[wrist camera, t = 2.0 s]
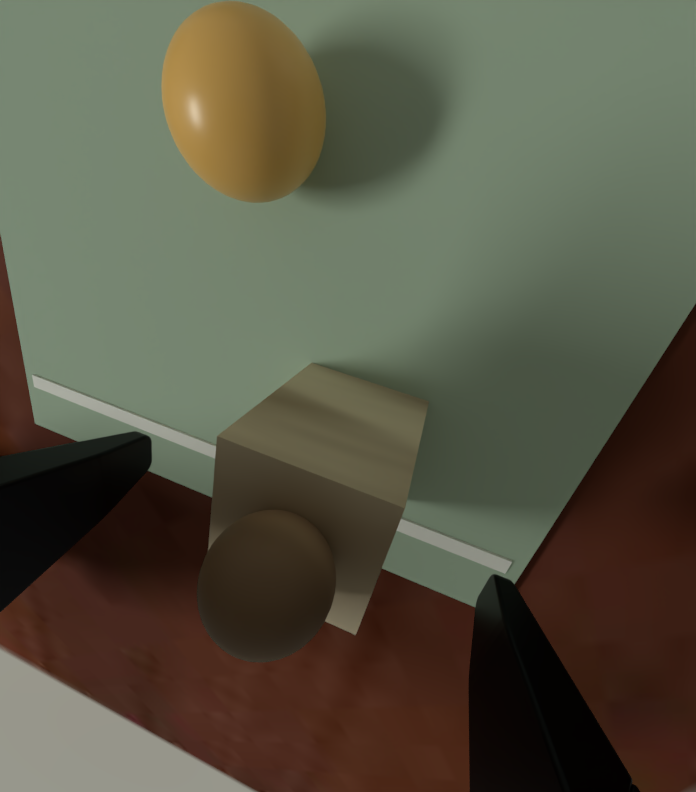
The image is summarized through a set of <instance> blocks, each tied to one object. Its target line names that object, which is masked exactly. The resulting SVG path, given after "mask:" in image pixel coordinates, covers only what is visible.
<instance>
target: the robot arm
mask: <svg viewBox="0 0 696 792" xmlns="http://www.w3.org/2000/svg"><path fill="white" fill-rule="evenodd" d="M151 463H152V440H151V438H150V437H149V436H148V435H146V434H143V433H140V432H137V431H132V432H127V433H122V434H117V435H111V436H106V437H101V438H96V439H90V440H85V441H80V442H74V443H69V444H64V445H59V446H53V447H48V448H43V449H38V450H32V451H27V452H22V453H17V454H11V455H6V456H1V457H0V612H1V611H2V610H3V609H4V608H5V607H7V606H8V605H9V604H10V603H11V602H12V601H13V600H14V599H15V598H16V597H17V596H19V595H20V594H21V593H22V592H23V591H24V590H25V589H26V588H27V587H28V586H30V585H31V584H32V583H33V582H34V581H35V580H36V579H37V578H38V577H39V576H41V575H42V574H43V573H44V572H45V571H46V570H47V569H48V568H49V567H50V566H51V565H53V564H54V563H55V562H56V561H57V560H58V559H59V558H60V557H61V556H62V555H64V554H65V553H66V552H67V551H68V550H69V549H70V548H71V547H72V546H73V545H75V544H76V543H77V542H78V541H79V540H80V539H81V538H82V537H83V536H84V535H85V534H87V533H88V532H89V531H90V530H91V529H92V528H93V527H94V526H95V525H96V524H98V523H99V522H100V521H101V520H102V519H103V518H104V517H105V516H106V515H107V514H108V513H109V512H110V511H111V510H112V509H113V508H114V507H115V506H116V504H117V503H118V502H119V501H120V500H121V499H122V498H123V497H124V496H125V495H126V494H127V492H128V491H129V490H130V489H131V488H132V487H133V486H134V485H135V484H136V483H137V482H138V480H139V479H140V478H141V477H142V476H143V475H144V474H145V473H146V472H147V470H148V469H149V468H150V466H151ZM469 762H470V792H640V791H639V789H638V788H637V786H636V785H634V784H632V778H631V776H630V775H629V773H628V771H627V770H626V768H625V766H624V765H623V763H622V761H621V760H620V758H619V756H618V755H617V753H616V751H615V750H614V748H613V747H612V745H611V743H610V742H609V740H608V738H607V737H606V735H605V733H604V732H603V730H602V728H601V727H600V725H599V723H598V722H597V720H596V718H595V717H594V715H593V713H592V712H591V710H590V709H589V707H588V705H587V704H586V702H585V700H584V699H583V697H582V695H581V694H580V692H579V690H578V689H577V687H576V685H575V684H574V682H573V680H572V679H571V677H570V675H569V674H568V672H567V670H566V669H565V667H564V666H563V664H562V662H561V661H560V659H559V657H558V656H557V654H556V652H555V651H554V649H553V647H552V646H551V644H550V642H549V641H548V639H547V637H546V636H545V634H544V632H543V631H542V629H541V627H540V626H539V624H538V623H537V621H536V619H535V618H534V616H533V614H532V613H531V611H530V609H529V608H528V606H527V604H526V603H525V601H524V599H523V598H522V596H521V594H520V593H519V591H518V589H517V588H516V586H515V585H514V583H513V582H512V581H511V580H509V579H507V578H505V577H502V576H500V575H497V574H492V575H491V576H490V577H489V579H488V581H487V582H486V584H485V586H484V587H483V589H482V591H481V592H480V594H479V596H478V598H477V602H476V607H475V617H474V627H473V638H472V648H471V659H470V670H469Z"/></svg>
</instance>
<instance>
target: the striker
mask: <svg viewBox="0 0 696 792" xmlns="http://www.w3.org/2000/svg"><path fill="white" fill-rule="evenodd" d="M428 404H429V401H426V400H423V399H420V398H417V397H414V396H411V395H408V394H405V393H402V392H399V391H396V390H393V389H390V388H387V387H384V386H381V385H378V384H375V383H372V382H369V381H366V380H363V379H360V378H357V377H353V376H350V375H347V374H344V373H341V372H338V371H335V370H332V369H329V368H326V367H323V366H320V365H317V364H314V363H311V364H309V365H308V366H307V367H305V368H304V369H303V370H301V371H300V372H299V373H298V374H296V375H295V376H294V377H292V378H291V379H290V380H289V381H287V382H286V383H285V384H283V385H282V386H281V387H280V388H278V389H277V390H276V391H274V392H273V393H272V394H271V395H269V396H268V397H267V398H265V399H264V400H263V401H261V402H260V403H259V404H258V405H256V406H255V407H254V408H252V409H251V410H250V411H249V412H247V413H246V414H245V415H243V416H242V417H241V418H240V419H238V420H237V421H236V422H234V423H233V424H232V425H231V426H229V427H228V428H227V429H225V430H224V431H223V432H221V433H220V434H219V435H218V436H217V441H216V454H215V467H214V480H213V493H212V506H211V519H210V532H209V545H208V552H207V554H206V556H205V558H204V561H203V564H202V566H201V569H200V573H199V578H198V584H197V602H198V609H199V613H200V617H201V620H202V623H203V625H204V627H205V629H206V631H207V632H208V634H209V636H210V637H211V638H212V640H213V641H214V642H215V643H216V644H217V645H218V646H219V647H220V648H221V649H223V650H224V651H225V652H227V653H228V654H230V655H232V656H234V657H236V658H239V659H242V660H245V661H250V662H269V661H274V660H279V659H281V658H284V657H286V656H289V655H291V654H293V653H294V652H296V651H297V650H299V649H301V648H302V647H303V646H304V645H305V644H307V643H308V642H309V641H310V640H311V639H312V638H313V637H314V636H315V635H316V633H317V632H318V631H319V629H320V628H321V626H322V625H323V623H324V622H325V621H326V622H328V623H330V624H332V625H335V626H337V627H339V628H341V629H343V630H346V631H348V632H350V633H352V634H354V635H356V633H357V630H358V628H359V625H360V623H361V620H362V618H363V615H364V612H365V610H366V607H367V605H368V602H369V600H370V597H371V595H372V592H373V589H374V587H375V584H376V582H377V579H378V577H379V574H380V571H381V569H382V566H383V564H384V561H385V559H386V556H387V553H388V551H389V548H390V546H391V543H392V541H393V538H394V535H395V533H396V530H397V528H398V525H399V523H400V520H401V517H402V515H403V512H404V510H405V506H406V502H407V497H408V493H409V489H410V484H411V480H412V475H413V471H414V466H415V462H416V457H417V453H418V449H419V444H420V440H421V435H422V431H423V426H424V422H425V417H426V413H427V409H428Z"/></svg>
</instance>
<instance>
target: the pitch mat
mask: <svg viewBox="0 0 696 792" xmlns="http://www.w3.org/2000/svg"><path fill="white" fill-rule="evenodd" d="M222 1H240V2H244V3H248V4H252V5H255V6H258V7H260V8H262V9H264V10H266V11H268V12H269V13H271V14H273V15H274V16H275V17H277V18H278V19H280V20H281V21H282V22H283V23H284V24H285V25H286V26H287V27H288V28H289V29H290V30H291V31H292V32H293V33H294V34H295V35H296V36H297V38H298V39H299V40H300V41H301V43H302V44H303V46H304V47H305V49H306V51H307V52H308V54H309V56H310V57H311V59H312V61H313V63H314V66H315V68H316V70H317V73H318V76H319V79H320V82H321V85H322V89H323V94H324V99H325V108H326V130H325V138H324V143H323V147H322V150H321V153H320V157H319V159H318V161H317V163H316V165H315V167H314V169H313V171H312V172H311V174H310V175H309V177H308V178H307V179H306V180H305V182H304V183H303V184H301V185H300V186H299V187H298V188H297V189H296V190H294V191H293V192H292V193H290V194H289V195H287V196H285V197H283V198H280V199H277V200H274V201H271V202H264V203H251V202H244V201H240V200H237V199H234V198H231V197H228V196H226V195H224V194H222V193H220V192H219V191H217V190H215V189H214V188H212V187H211V186H210V185H208V184H207V183H206V182H205V181H204V180H203V179H201V178H200V177H199V176H198V175H197V174H196V173H195V172H194V171H193V169H192V168H191V167H190V166H189V164H188V163H187V162H186V160H185V159H184V157H183V156H182V154H181V153H180V151H179V149H178V148H177V146H176V144H175V142H174V139H173V137H172V135H171V132H170V130H169V127H168V124H167V121H166V117H165V113H164V109H163V102H162V89H161V82H162V69H163V63H164V59H165V55H166V52H167V49H168V46H169V44H170V41H171V39H172V37H173V35H174V34H175V32H176V31H177V29H178V27H179V26H180V25H181V24H182V23H183V21H184V20H185V19H186V18H187V17H189V16H190V15H191V14H192V13H194V12H195V11H197V10H199V9H200V8H202V7H204V6H206V5H209V4H211V3H216V2H222ZM0 233H1V239H2V244H3V250H4V255H5V261H6V266H7V272H8V277H9V283H10V288H11V294H12V299H13V305H14V310H15V316H16V321H17V327H18V332H19V338H20V343H21V349H22V354H23V360H24V365H25V371H26V376H27V382H28V387H29V393H30V398H31V404H32V409H33V415H34V420H35V424H37V425H40V426H42V427H45V428H47V429H49V430H52V431H54V432H56V433H59V434H61V435H64V436H66V437H68V438H71V439H73V440H76V441H78V442H80V441H85V440H90V439H96V438H101V437H106V436H111V435H117V434H122V433H127V432H132V431H137V432H140V433H143V434H146V435H148V436H149V437H150V438H151V440H152V463H151V466H150V468H149V469H148V471H150V472H152V473H155V474H157V475H159V476H162V477H164V478H167V479H169V480H171V481H174V482H176V483H179V484H181V485H183V486H186V487H188V488H191V489H193V490H195V491H198V492H200V493H203V494H205V495H207V496H210V497H212V493H213V480H214V467H215V454H216V441H217V436H218V435H219V434H220V433H221V432H223V431H224V430H225V429H227V428H228V427H229V426H231V425H232V424H233V423H234V422H236V421H237V420H238V419H240V418H241V417H242V416H243V415H245V414H246V413H247V412H249V411H250V410H251V409H252V408H254V407H255V406H256V405H258V404H259V403H260V402H261V401H263V400H264V399H265V398H267V397H268V396H269V395H271V394H272V393H273V392H274V391H276V390H277V389H278V388H280V387H281V386H282V385H283V384H285V383H286V382H287V381H289V380H290V379H291V378H292V377H294V376H295V375H296V374H298V373H299V372H300V371H301V370H303V369H304V368H305V367H307V366H308V365H309V364H311V363H314V364H317V365H320V366H323V367H326V368H329V369H332V370H335V371H338V372H341V373H344V374H347V375H350V376H353V377H357V378H360V379H363V380H366V381H369V382H372V383H375V384H378V385H381V386H384V387H387V388H390V389H393V390H396V391H399V392H402V393H405V394H408V395H411V396H414V397H417V398H420V399H423V400H426V401H429V404H428V409H427V413H426V417H425V422H424V426H423V431H422V435H421V440H420V444H419V449H418V453H417V457H416V462H415V466H414V471H413V475H412V480H411V484H410V489H409V493H408V497H407V502H406V506H405V510H404V512H403V515H402V517H401V520H400V523H399V525H398V528H397V530H396V533H395V535H394V538H393V541H392V543H391V546H390V548H389V551H388V553H387V556H386V559H385V561H384V564H383V566H382V569H385V570H387V571H389V572H392V573H394V574H397V575H399V576H401V577H404V578H406V579H409V580H411V581H413V582H416V583H418V584H421V585H423V586H425V587H428V588H430V589H433V590H435V591H437V592H440V593H442V594H444V595H447V596H449V597H452V598H454V599H456V600H459V601H461V602H464V603H466V604H468V605H471V606H473V607H476V602H477V598H478V596H479V594H480V592H481V591H482V589H483V587H484V586H485V584H486V582H487V581H488V579H489V577H490V576H491V575H492V574H497V575H500V576H502V577H505V578H507V579H509V580H511V581H512V582H513V583H514V584H515V583H516V581H517V580H518V578H519V577H520V575H521V574H522V572H523V570H524V569H525V567H526V566H527V564H528V563H529V561H530V560H531V558H532V556H533V555H534V553H535V552H536V550H537V549H538V547H539V546H540V544H541V542H542V541H543V539H544V538H545V536H546V535H547V533H548V532H549V530H550V529H551V527H552V525H553V524H554V522H555V521H556V519H557V518H558V516H559V515H560V513H561V511H562V510H563V508H564V507H565V505H566V504H567V502H568V501H569V499H570V498H571V496H572V494H573V493H574V491H575V490H576V488H577V487H578V485H579V484H580V482H581V480H582V479H583V477H584V476H585V474H586V473H587V471H588V470H589V468H590V467H591V465H592V463H593V462H594V460H595V459H596V457H597V456H598V454H599V453H600V451H601V449H602V448H603V446H604V445H605V443H606V442H607V440H608V439H609V437H610V436H611V434H612V432H613V431H614V429H615V428H616V426H617V425H618V423H619V422H620V420H621V418H622V417H623V415H624V414H625V412H626V411H627V409H628V408H629V406H630V404H631V403H632V401H633V400H634V398H635V397H636V395H637V394H638V392H639V391H640V389H641V387H642V386H643V384H644V383H645V381H646V380H647V378H648V377H649V375H650V373H651V372H652V370H653V369H654V367H655V366H656V364H657V363H658V361H659V360H660V358H661V356H662V355H663V353H664V352H665V350H666V349H667V347H668V346H669V344H670V342H671V341H672V339H673V338H674V336H675V335H676V333H677V332H678V330H679V329H680V327H681V325H682V324H683V322H684V321H685V319H686V318H687V316H688V315H689V313H690V311H691V310H692V308H693V307H694V305H695V304H696V0H0Z"/></svg>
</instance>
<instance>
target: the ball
mask: <svg viewBox="0 0 696 792" xmlns="http://www.w3.org/2000/svg"><path fill="white" fill-rule="evenodd" d="M161 89H162V102H163V109H164V113H165V117H166V121H167V124H168V127H169V130H170V132H171V135H172V137H173V139H174V142H175V144H176V146H177V148H178V149H179V151H180V153H181V154H182V156H183V157H184V159H185V160H186V162H187V163H188V164H189V166H190V167H191V168H192V169H193V171H194V172H195V173H196V174H197V175H198V176H199V177H200V178H201V179H203V180H204V181H205V182H206V183H207V184H208V185H210V186H211V187H212V188H214V189H215V190H217V191H219V192H220V193H222V194H224V195H226V196H228V197H231V198H234V199H237V200H240V201H244V202H251V203H264V202H271V201H274V200H277V199H280V198H283V197H285V196H287V195H289V194H290V193H292V192H293V191H294V190H296V189H297V188H298V187H299V186H300V185H301V184H303V183H304V182H305V180H306V179H307V178H308V177H309V175H310V174H311V172H312V171H313V169H314V167H315V165H316V163H317V161H318V159H319V157H320V153H321V150H322V147H323V143H324V138H325V130H326V108H325V99H324V94H323V89H322V85H321V82H320V79H319V76H318V73H317V70H316V68H315V66H314V63H313V61H312V59H311V57H310V56H309V54H308V52H307V51H306V49H305V47H304V46H303V44H302V43H301V41H300V40H299V39H298V38H297V36H296V35H295V34H294V33H293V32H292V31H291V30H290V29H289V28H288V27H287V26H286V25H285V24H284V23H283V22H282V21H281V20H280V19H278V18H277V17H275V16H274V15H273V14H271V13H269V12H268V11H266V10H264V9H262V8H260V7H258V6H255V5H252V4H248V3H244V2H240V1H222V2H216V3H211V4H209V5H206V6H204V7H202V8H200V9H199V10H197V11H195V12H194V13H192V14H191V15H190V16H189V17H187V18H186V19H185V20H184V21H183V23H182V24H181V25H180V26H179V27H178V29H177V31H176V32H175V34H174V35H173V37H172V39H171V41H170V44H169V46H168V49H167V52H166V55H165V59H164V63H163V69H162V82H161Z"/></svg>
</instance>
